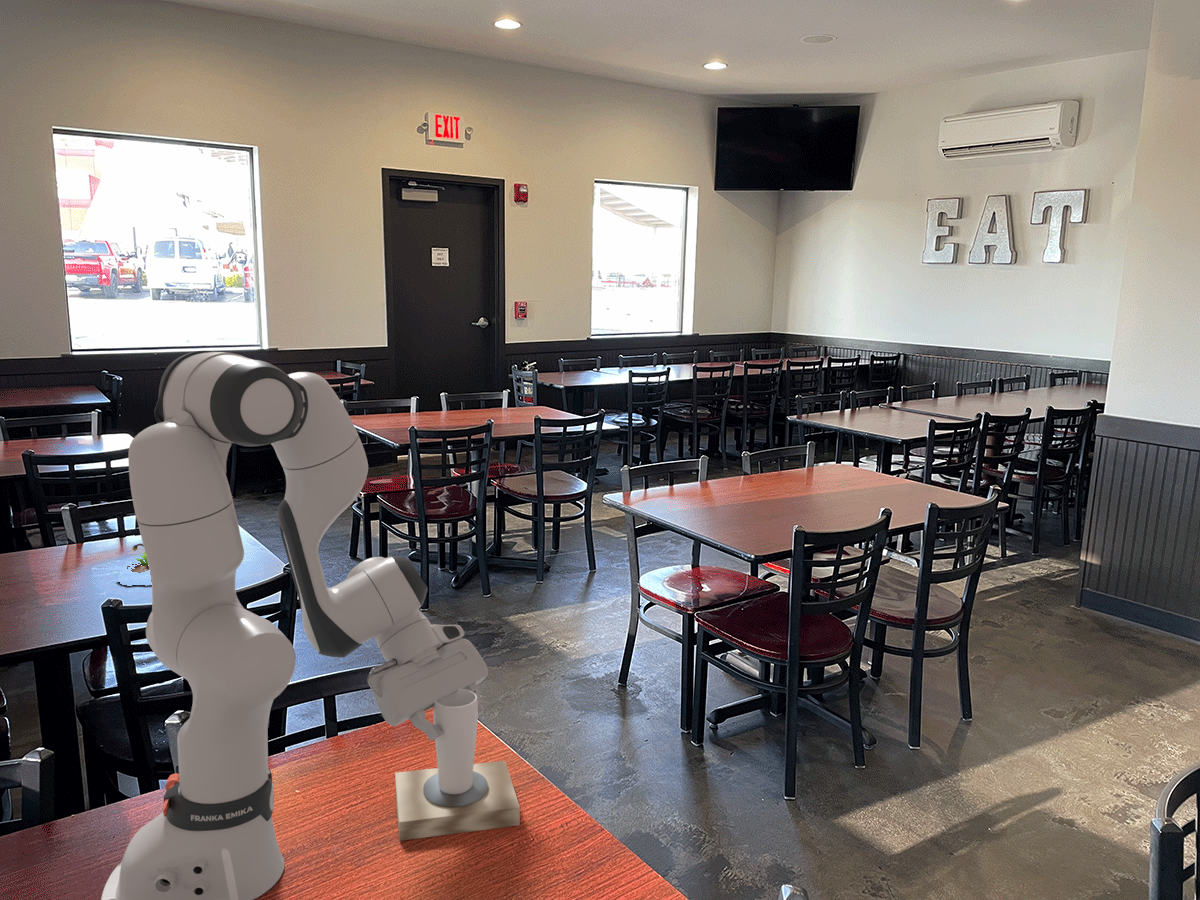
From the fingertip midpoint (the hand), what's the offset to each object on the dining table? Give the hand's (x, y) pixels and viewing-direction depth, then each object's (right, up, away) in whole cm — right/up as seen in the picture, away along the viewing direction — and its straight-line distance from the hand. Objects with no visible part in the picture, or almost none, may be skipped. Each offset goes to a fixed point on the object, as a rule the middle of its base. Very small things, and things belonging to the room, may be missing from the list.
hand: (458, 725), depth 136 cm
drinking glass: (-1, -10, +2) cm, 11 cm away
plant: (-102, +7, +109) cm, 149 cm away
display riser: (-1, -14, +3) cm, 14 cm away
